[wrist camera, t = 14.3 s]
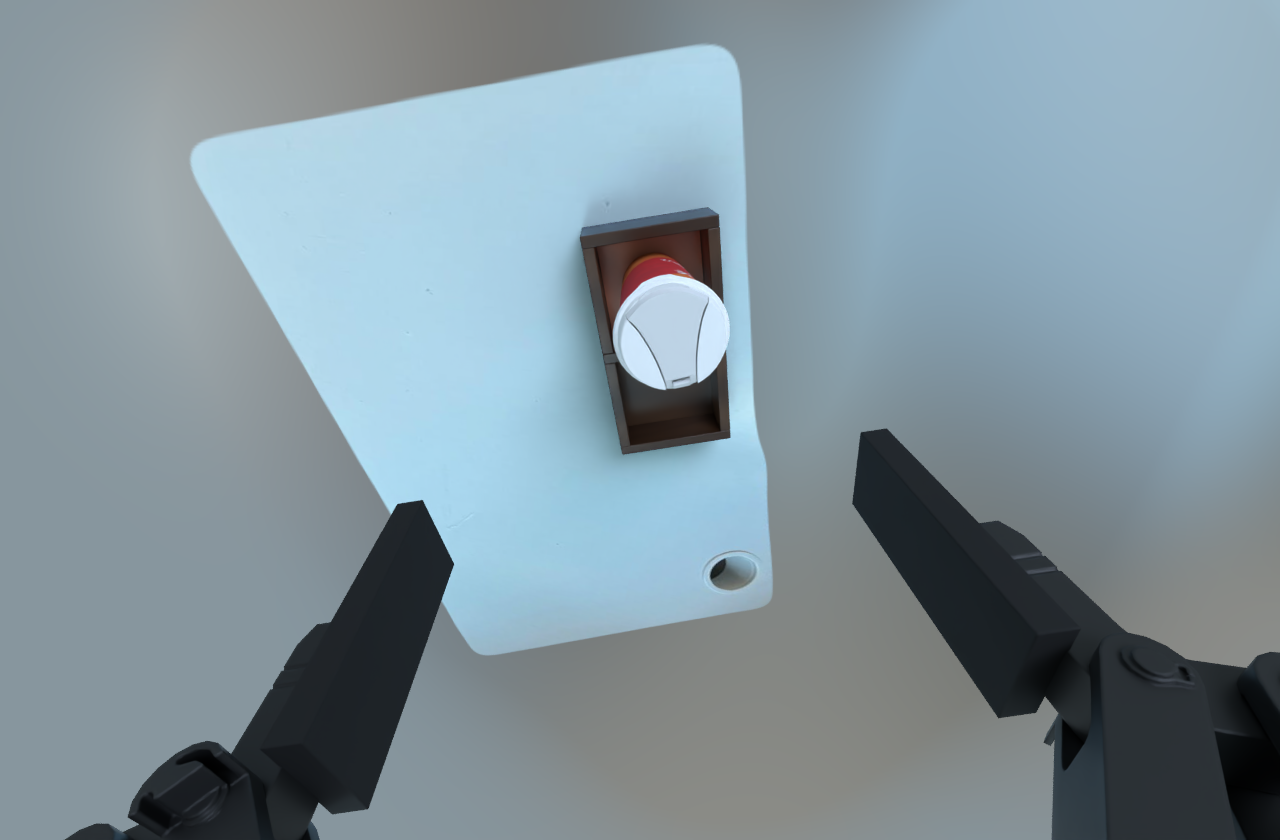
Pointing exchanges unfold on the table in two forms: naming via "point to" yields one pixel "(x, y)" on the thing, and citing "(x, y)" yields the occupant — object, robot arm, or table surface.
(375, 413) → the table surface
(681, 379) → the coffee cup
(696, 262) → the cup holder
